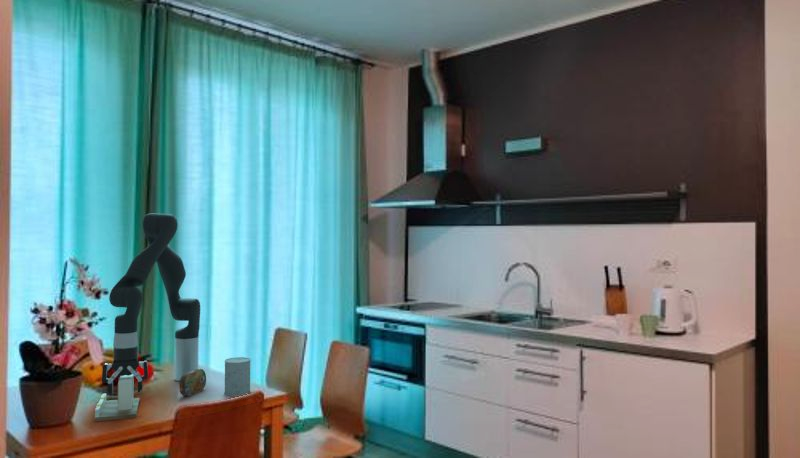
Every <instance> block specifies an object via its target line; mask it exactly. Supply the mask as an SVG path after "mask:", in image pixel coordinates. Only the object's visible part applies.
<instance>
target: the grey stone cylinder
mask: <svg viewBox="0 0 800 458" xmlns="http://www.w3.org/2000/svg"><path fill="white" fill-rule="evenodd" d="M251 360H252V359H251V358H249V357H243V356H240V357H239V356H237V357H229V358H226V359H225V360H224V395H226V396H229V397H230V396H231V397H232V396H233V397H237V396H238V395H240V396H243V395H242V394H245V395H247V394H246V393H248V394H250V393H251ZM249 392H250V393H249ZM238 397H239V396H238Z"/></svg>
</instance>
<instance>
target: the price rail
mask: <svg viewBox="0 0 800 458" xmlns="http://www.w3.org/2000/svg"><path fill="white" fill-rule="evenodd" d="M106 401H107V393H102V395H101V396H100V398H99V401H98V402H97V404H96V407H95V409H94V419H95V418H97V417H99V416H100V414H101V412H102V410H103V407H104V405H105V403H106Z"/></svg>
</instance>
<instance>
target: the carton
mask: <svg viewBox="0 0 800 458" xmlns="http://www.w3.org/2000/svg"><path fill="white" fill-rule="evenodd" d="M134 378H135V377H134V375H133V374H132V375H129V376H127V375H124V376H119V377H118V383H117V400H118V410H129V409H132V406H133V400H134V398H135V397H134V394H135V390H134V388H135V386H134V385H135V384H134V382H135V379H134Z"/></svg>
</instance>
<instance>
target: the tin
mask: <svg viewBox="0 0 800 458" xmlns="http://www.w3.org/2000/svg"><path fill="white" fill-rule="evenodd" d="M206 384H207V374H206V372H205V370H204V369H202V368H200V369H199V368H198V369H196V370H193V371H191V372H189V373H186V374H184V375H183V376H182V377H181V379H180V381H179V393H180V396H183V397H193V396H194V395H196V394H199V393H200V392H202V391H203V390H204V388H205V386H206Z"/></svg>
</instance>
